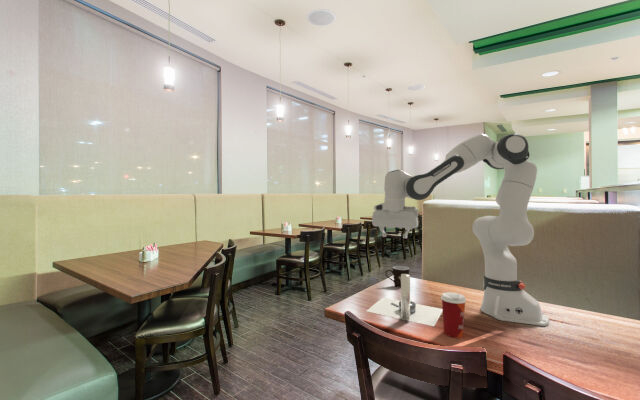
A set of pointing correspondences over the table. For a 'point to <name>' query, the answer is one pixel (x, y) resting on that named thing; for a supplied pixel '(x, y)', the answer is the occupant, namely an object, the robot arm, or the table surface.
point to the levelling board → (421, 315)
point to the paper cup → (453, 314)
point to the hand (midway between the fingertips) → (394, 237)
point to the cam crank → (406, 298)
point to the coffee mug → (398, 274)
